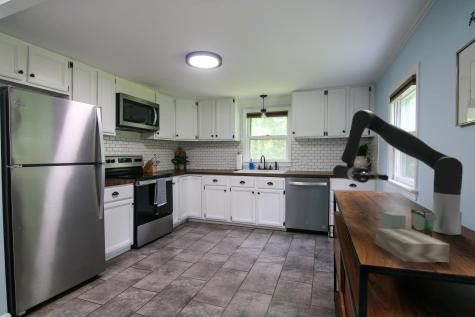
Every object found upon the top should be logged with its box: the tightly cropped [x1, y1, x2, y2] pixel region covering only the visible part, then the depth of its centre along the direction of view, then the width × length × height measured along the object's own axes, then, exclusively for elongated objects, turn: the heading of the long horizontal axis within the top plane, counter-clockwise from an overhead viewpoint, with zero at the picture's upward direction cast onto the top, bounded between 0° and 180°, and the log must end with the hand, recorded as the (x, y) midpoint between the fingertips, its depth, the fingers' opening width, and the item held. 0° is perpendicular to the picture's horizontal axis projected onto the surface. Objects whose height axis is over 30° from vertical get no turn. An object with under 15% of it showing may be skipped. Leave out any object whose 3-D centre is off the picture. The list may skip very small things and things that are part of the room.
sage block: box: [381, 211, 407, 229], centre depth 98 cm, size 6×6×10 cm
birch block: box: [374, 227, 450, 264], centre depth 83 cm, size 14×15×6 cm
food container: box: [410, 208, 437, 237], centre depth 102 cm, size 12×6×10 cm, turn 168°
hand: (378, 177), depth 109 cm, fingers open, 8 cm apart
